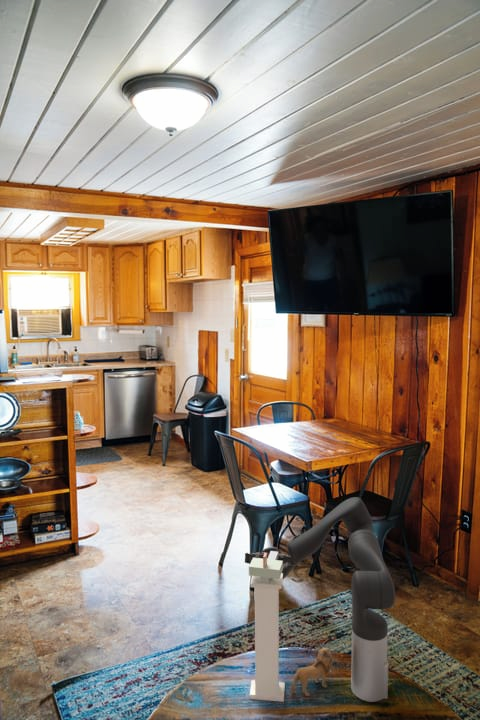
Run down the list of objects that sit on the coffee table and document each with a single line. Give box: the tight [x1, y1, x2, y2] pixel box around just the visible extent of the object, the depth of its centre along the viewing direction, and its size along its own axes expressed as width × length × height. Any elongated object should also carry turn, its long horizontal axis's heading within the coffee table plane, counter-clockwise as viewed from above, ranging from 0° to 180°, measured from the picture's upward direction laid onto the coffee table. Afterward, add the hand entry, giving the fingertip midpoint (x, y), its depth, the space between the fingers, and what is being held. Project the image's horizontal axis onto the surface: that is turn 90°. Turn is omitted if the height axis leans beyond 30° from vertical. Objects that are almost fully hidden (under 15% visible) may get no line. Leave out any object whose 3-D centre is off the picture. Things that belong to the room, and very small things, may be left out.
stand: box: [249, 573, 286, 703], centre depth 144 cm, size 9×6×32 cm, turn 83°
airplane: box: [248, 551, 283, 583], centre depth 146 cm, size 8×14×7 cm, turn 166°
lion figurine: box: [290, 647, 333, 699], centre depth 147 cm, size 15×5×9 cm, turn 129°
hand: (268, 558), depth 149 cm, fingers open, 8 cm apart
